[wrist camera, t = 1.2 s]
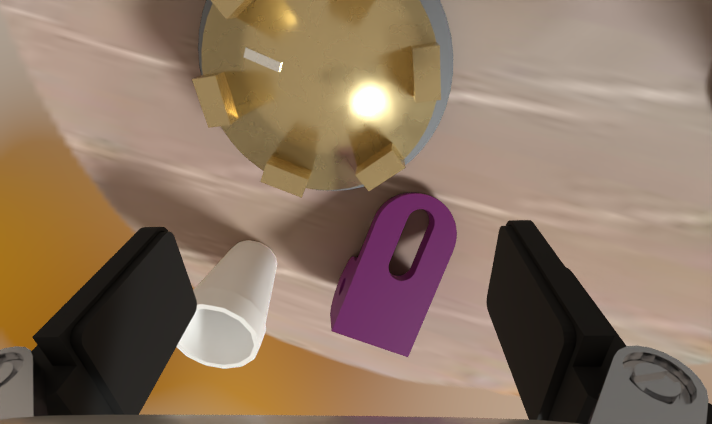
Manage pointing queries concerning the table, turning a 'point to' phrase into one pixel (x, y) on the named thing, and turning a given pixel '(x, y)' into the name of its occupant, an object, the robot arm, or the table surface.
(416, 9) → the brass lugged disc
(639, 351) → the robot arm
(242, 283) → the foam cup
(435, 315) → the table surface
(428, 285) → the mounting bracket
